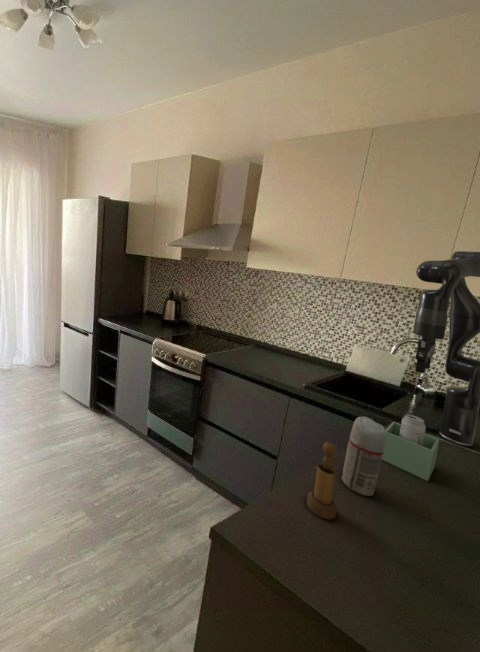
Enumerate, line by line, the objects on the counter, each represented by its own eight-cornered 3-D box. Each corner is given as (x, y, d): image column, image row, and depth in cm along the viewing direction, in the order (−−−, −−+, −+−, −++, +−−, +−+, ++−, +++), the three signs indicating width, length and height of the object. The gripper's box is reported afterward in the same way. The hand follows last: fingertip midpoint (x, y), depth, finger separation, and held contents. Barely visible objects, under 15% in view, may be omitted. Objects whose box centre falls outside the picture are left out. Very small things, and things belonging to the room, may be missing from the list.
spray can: (371, 483, 99) (382, 419, 98) (379, 502, 92) (391, 433, 90) (338, 472, 102) (348, 410, 101) (344, 489, 95) (354, 423, 94)
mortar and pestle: (301, 498, 90) (310, 435, 88) (323, 499, 90) (332, 436, 89) (317, 519, 83) (328, 451, 82) (341, 520, 84) (352, 452, 82)
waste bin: (388, 447, 120) (393, 421, 119) (434, 467, 111) (439, 439, 110) (379, 458, 112) (384, 431, 112) (428, 481, 103) (433, 451, 102)
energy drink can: (413, 468, 107) (420, 424, 106) (392, 456, 113) (398, 414, 112) (423, 465, 110) (430, 421, 109) (401, 453, 115) (408, 412, 114)
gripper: (442, 327, 101) (434, 378, 102) (449, 323, 110) (441, 370, 111) (410, 320, 107) (402, 369, 108) (419, 317, 116) (412, 362, 117)
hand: (422, 370), depth 109 cm, fingers open, 8 cm apart
